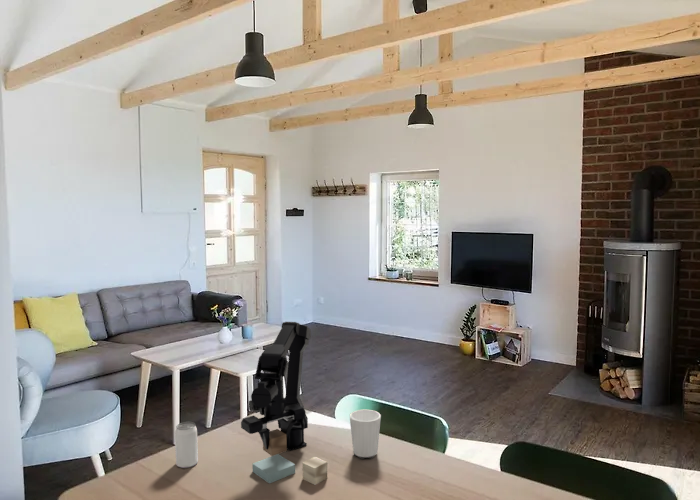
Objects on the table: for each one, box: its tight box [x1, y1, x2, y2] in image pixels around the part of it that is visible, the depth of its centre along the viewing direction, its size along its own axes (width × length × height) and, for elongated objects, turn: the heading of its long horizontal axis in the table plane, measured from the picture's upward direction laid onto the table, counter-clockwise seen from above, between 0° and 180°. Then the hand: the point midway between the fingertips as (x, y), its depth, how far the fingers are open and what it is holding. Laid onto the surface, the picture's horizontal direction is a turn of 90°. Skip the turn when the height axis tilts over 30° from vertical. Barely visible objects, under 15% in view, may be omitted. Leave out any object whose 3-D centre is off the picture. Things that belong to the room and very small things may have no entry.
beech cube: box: [302, 456, 328, 486], centre depth 155 cm, size 5×5×5 cm
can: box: [174, 421, 199, 469], centre depth 164 cm, size 6×6×12 cm
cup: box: [349, 408, 382, 460], centre depth 169 cm, size 10×10×13 cm
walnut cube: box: [262, 428, 288, 457], centre depth 158 cm, size 5×5×5 cm
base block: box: [252, 453, 296, 485], centre depth 159 cm, size 9×9×3 cm
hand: (274, 446), depth 158 cm, fingers closed on walnut cube, 5 cm apart
